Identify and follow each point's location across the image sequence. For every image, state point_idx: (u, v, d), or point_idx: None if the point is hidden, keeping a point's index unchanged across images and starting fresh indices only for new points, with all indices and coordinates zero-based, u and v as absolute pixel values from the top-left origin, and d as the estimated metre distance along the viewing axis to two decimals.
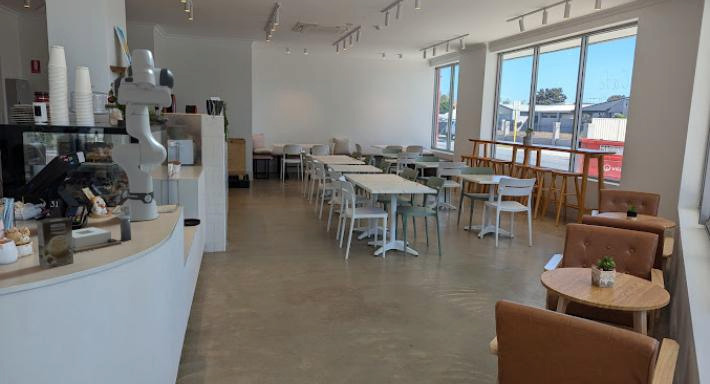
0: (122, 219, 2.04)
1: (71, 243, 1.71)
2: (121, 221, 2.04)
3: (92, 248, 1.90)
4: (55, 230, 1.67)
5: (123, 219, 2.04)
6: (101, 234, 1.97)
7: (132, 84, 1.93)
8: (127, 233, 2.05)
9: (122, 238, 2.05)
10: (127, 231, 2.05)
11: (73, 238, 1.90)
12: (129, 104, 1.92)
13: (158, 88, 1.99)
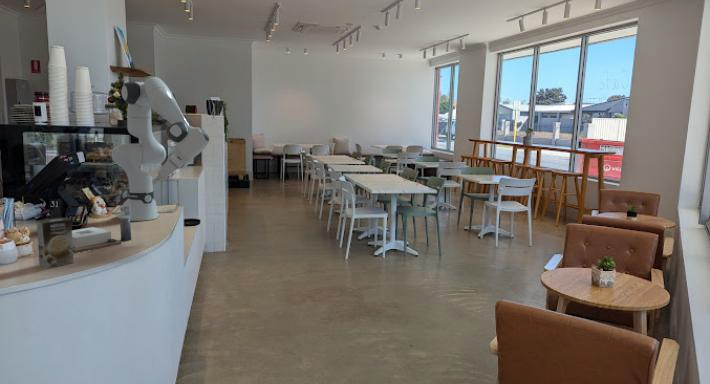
0: (122, 219, 2.04)
1: (71, 243, 1.71)
2: (121, 221, 2.04)
3: (92, 248, 1.90)
4: (54, 230, 1.67)
5: (123, 219, 2.04)
6: (101, 234, 1.97)
7: (178, 168, 2.04)
8: (127, 233, 2.05)
9: (122, 238, 2.05)
10: (127, 231, 2.05)
11: (73, 238, 1.90)
12: None
13: None
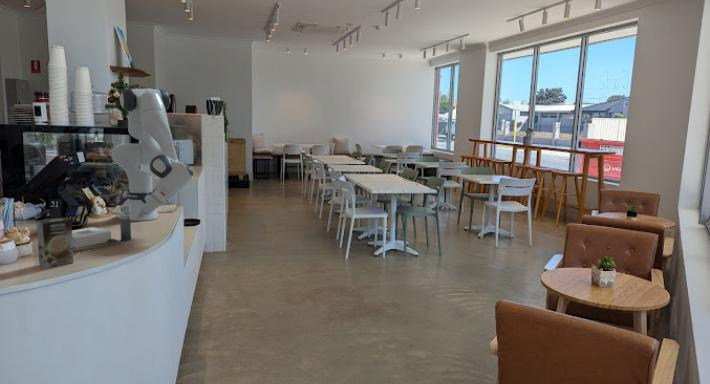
0: (122, 219, 2.04)
1: (71, 243, 1.71)
2: (121, 221, 2.04)
3: (92, 248, 1.90)
4: (55, 230, 1.67)
5: (123, 219, 2.04)
6: (101, 234, 1.97)
7: None
8: (127, 233, 2.05)
9: (122, 238, 2.05)
10: (127, 231, 2.05)
11: (73, 238, 1.90)
12: (144, 214, 2.02)
13: None
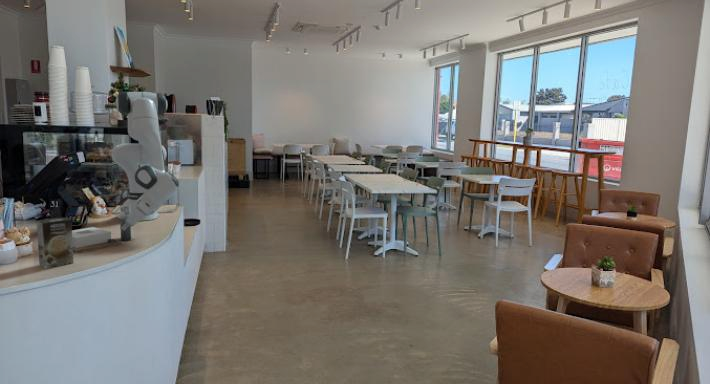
0: (122, 219, 2.04)
1: (71, 243, 1.71)
2: (121, 221, 2.04)
3: (92, 248, 1.90)
4: (55, 230, 1.67)
5: (123, 219, 2.04)
6: (101, 234, 1.97)
7: None
8: (127, 233, 2.05)
9: (122, 238, 2.05)
10: (127, 231, 2.05)
11: (73, 238, 1.90)
12: None
13: None
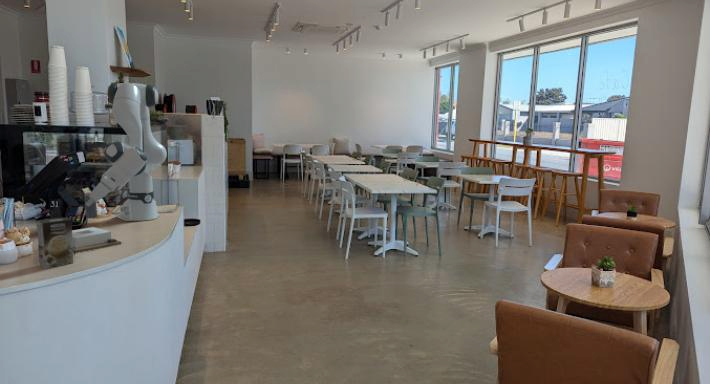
0: (87, 195, 1.95)
1: (71, 243, 1.71)
2: (86, 197, 1.95)
3: (92, 248, 1.90)
4: (55, 230, 1.67)
5: (88, 195, 1.95)
6: (101, 234, 1.97)
7: None
8: (92, 209, 1.96)
9: (87, 215, 1.96)
10: (92, 208, 1.96)
11: (73, 238, 1.90)
12: None
13: None
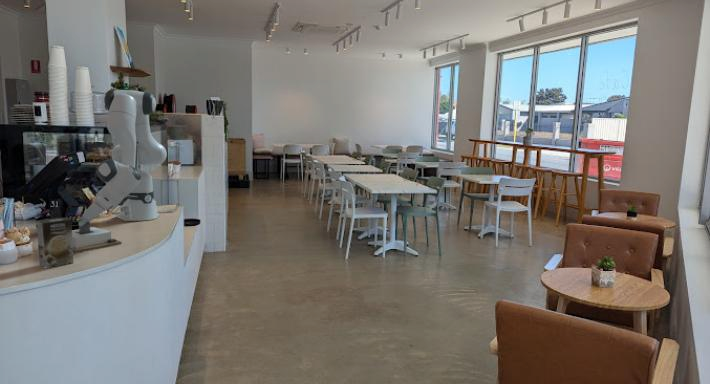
0: (80, 219, 1.96)
1: (71, 243, 1.71)
2: None
3: (92, 248, 1.90)
4: (55, 230, 1.67)
5: (81, 219, 1.96)
6: (101, 234, 1.97)
7: None
8: None
9: None
10: (86, 232, 1.97)
11: (73, 238, 1.90)
12: (87, 221, 1.93)
13: None
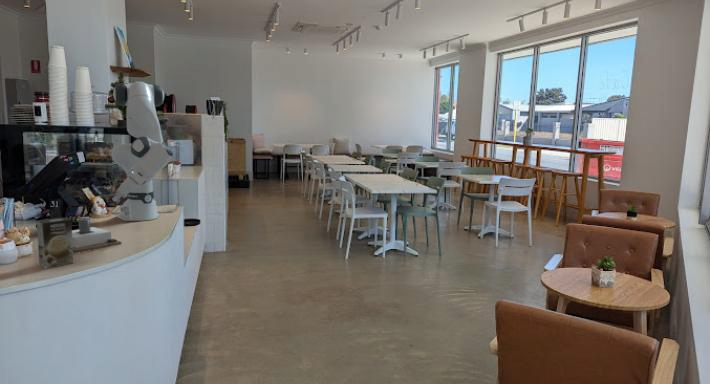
0: (81, 220, 1.95)
1: (71, 243, 1.71)
2: (80, 222, 1.96)
3: (92, 248, 1.90)
4: (54, 230, 1.67)
5: (82, 220, 1.95)
6: (101, 234, 1.97)
7: (140, 184, 1.97)
8: None
9: None
10: (86, 233, 1.97)
11: (73, 238, 1.90)
12: (121, 196, 1.94)
13: None
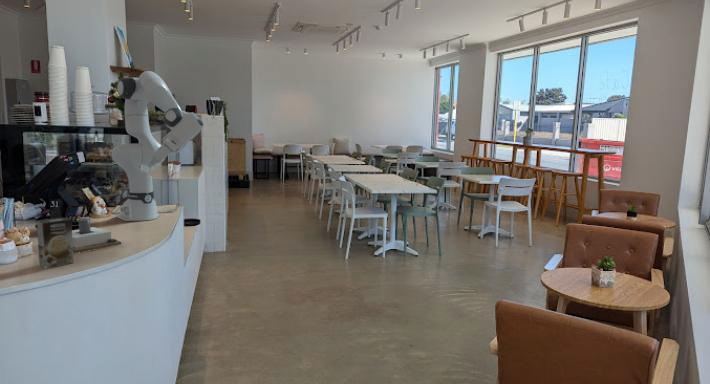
0: (81, 220, 1.95)
1: (71, 243, 1.71)
2: (80, 222, 1.96)
3: (92, 248, 1.90)
4: (55, 230, 1.67)
5: (82, 220, 1.95)
6: (101, 234, 1.97)
7: None
8: None
9: None
10: (86, 233, 1.97)
11: (73, 238, 1.90)
12: (155, 162, 2.06)
13: None
